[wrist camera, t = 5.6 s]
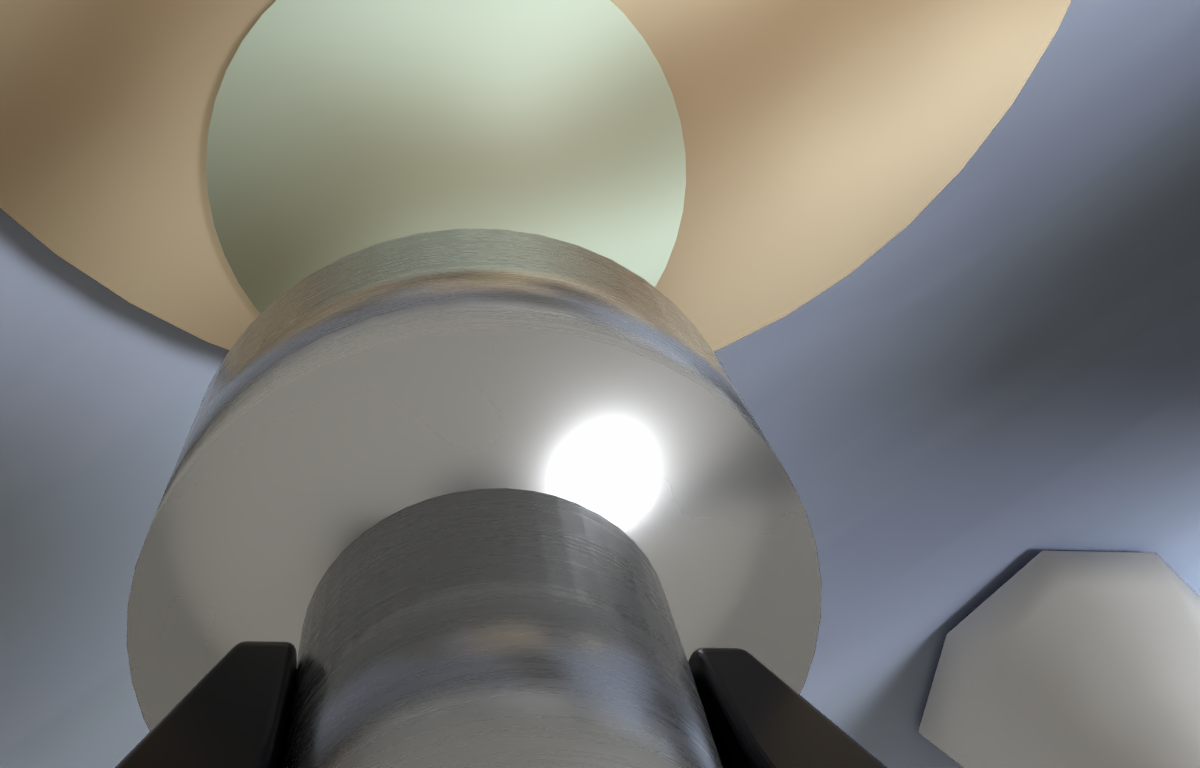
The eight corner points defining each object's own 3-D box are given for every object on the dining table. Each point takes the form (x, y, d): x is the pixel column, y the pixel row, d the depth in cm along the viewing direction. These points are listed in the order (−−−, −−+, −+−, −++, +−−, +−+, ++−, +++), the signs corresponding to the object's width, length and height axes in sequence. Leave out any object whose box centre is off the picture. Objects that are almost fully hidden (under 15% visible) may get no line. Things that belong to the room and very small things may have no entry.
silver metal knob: (843, 508, 12) (1182, 1021, 7) (448, 791, 13) (468, 1450, 8) (512, 102, 10) (622, 389, 4) (60, 479, 11) (-309, 1102, 5)
